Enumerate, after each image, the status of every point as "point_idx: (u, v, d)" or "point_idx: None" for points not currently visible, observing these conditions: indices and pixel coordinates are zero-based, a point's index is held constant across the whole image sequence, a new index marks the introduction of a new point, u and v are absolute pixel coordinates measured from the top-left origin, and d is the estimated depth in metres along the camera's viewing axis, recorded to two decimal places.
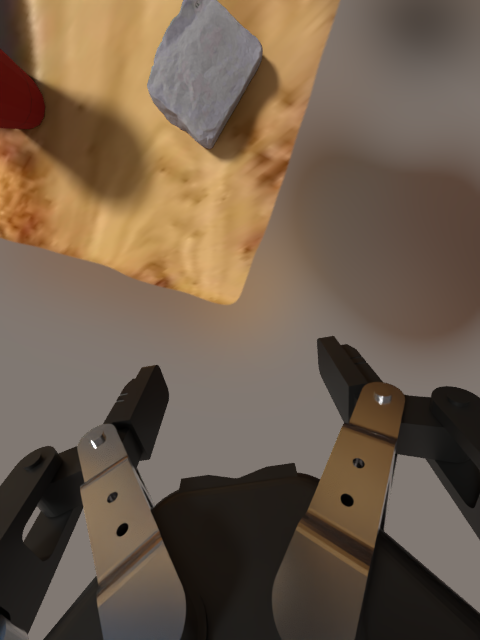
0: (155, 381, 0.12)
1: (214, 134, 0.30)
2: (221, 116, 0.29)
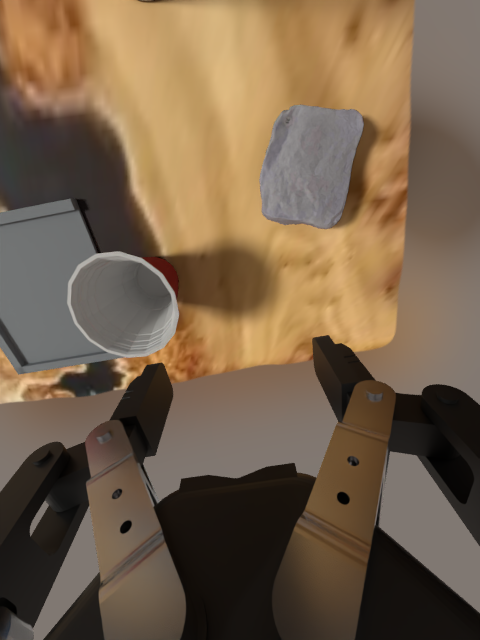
0: (160, 379, 0.12)
1: (340, 215, 0.29)
2: (344, 197, 0.28)
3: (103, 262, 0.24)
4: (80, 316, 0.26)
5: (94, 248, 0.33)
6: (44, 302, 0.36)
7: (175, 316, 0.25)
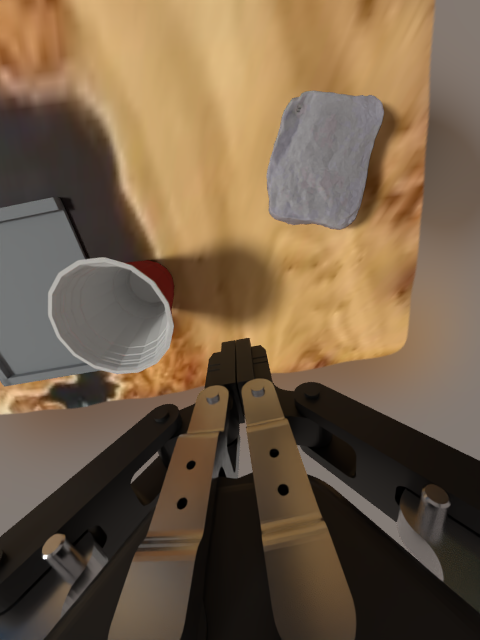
0: None
1: (356, 214, 0.27)
2: (360, 194, 0.25)
3: (87, 269, 0.21)
4: (63, 329, 0.23)
5: (81, 251, 0.30)
6: (29, 309, 0.33)
7: (169, 329, 0.22)
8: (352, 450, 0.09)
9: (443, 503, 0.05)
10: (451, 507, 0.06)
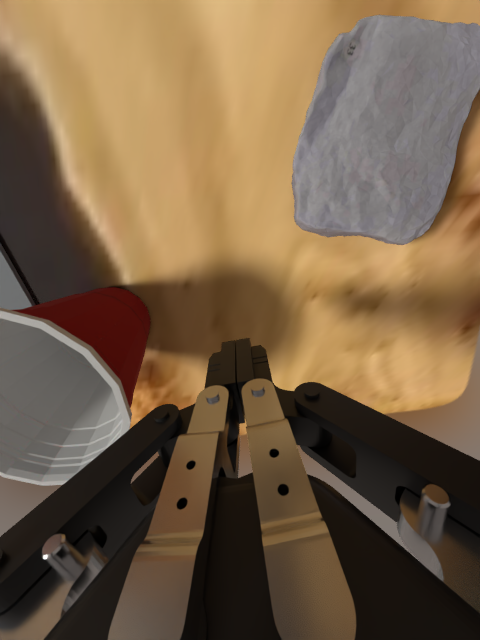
0: None
1: (431, 222, 0.17)
2: (443, 191, 0.16)
3: None
4: None
5: (14, 274, 0.21)
6: None
7: (123, 424, 0.13)
8: (352, 450, 0.09)
9: (443, 503, 0.05)
10: (451, 507, 0.06)
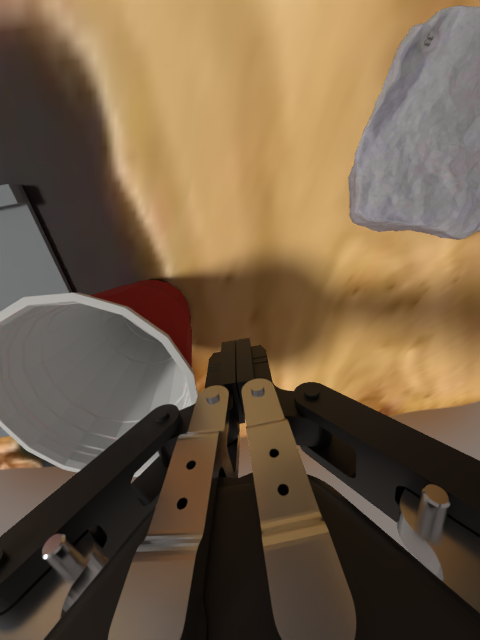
0: None
1: None
2: None
3: (47, 309, 0.12)
4: (8, 407, 0.13)
5: (56, 266, 0.21)
6: None
7: None
8: (352, 450, 0.09)
9: (443, 503, 0.05)
10: (451, 507, 0.06)
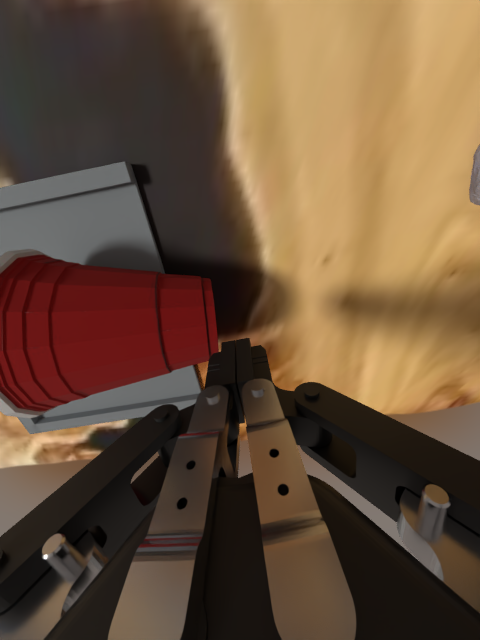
0: None
1: None
2: None
3: None
4: None
5: (155, 248, 0.20)
6: None
7: None
8: (352, 450, 0.09)
9: (443, 503, 0.05)
10: (451, 507, 0.06)
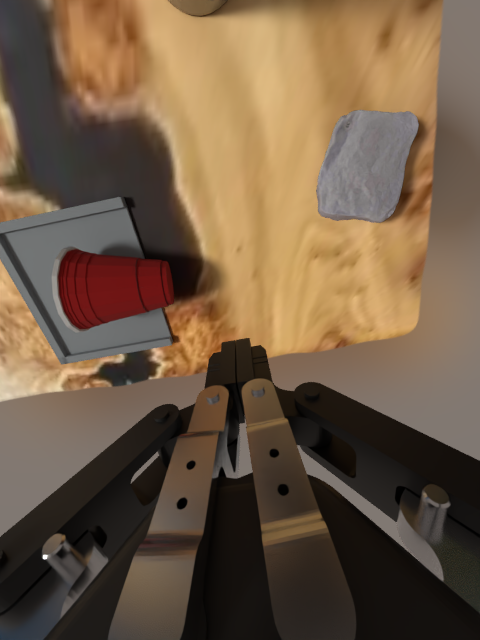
0: None
1: (394, 209, 0.32)
2: (398, 192, 0.30)
3: None
4: None
5: (138, 243, 0.35)
6: None
7: None
8: (352, 450, 0.09)
9: (443, 503, 0.05)
10: (451, 507, 0.06)
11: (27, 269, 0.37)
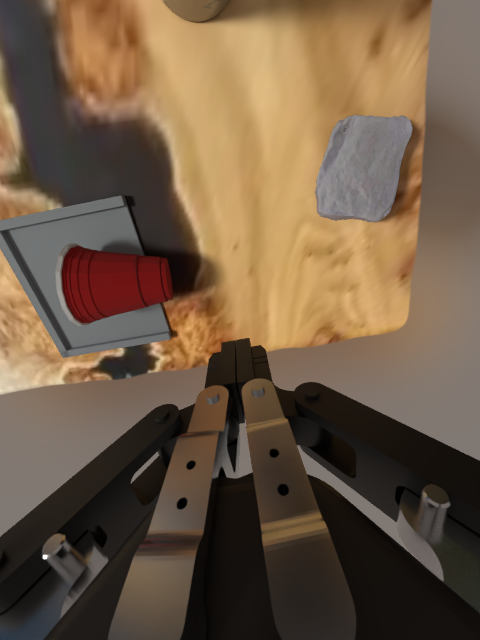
0: None
1: (390, 209, 0.33)
2: (394, 192, 0.32)
3: None
4: None
5: (138, 240, 0.37)
6: None
7: None
8: (352, 450, 0.09)
9: (443, 503, 0.05)
10: (451, 507, 0.06)
11: (30, 265, 0.38)
